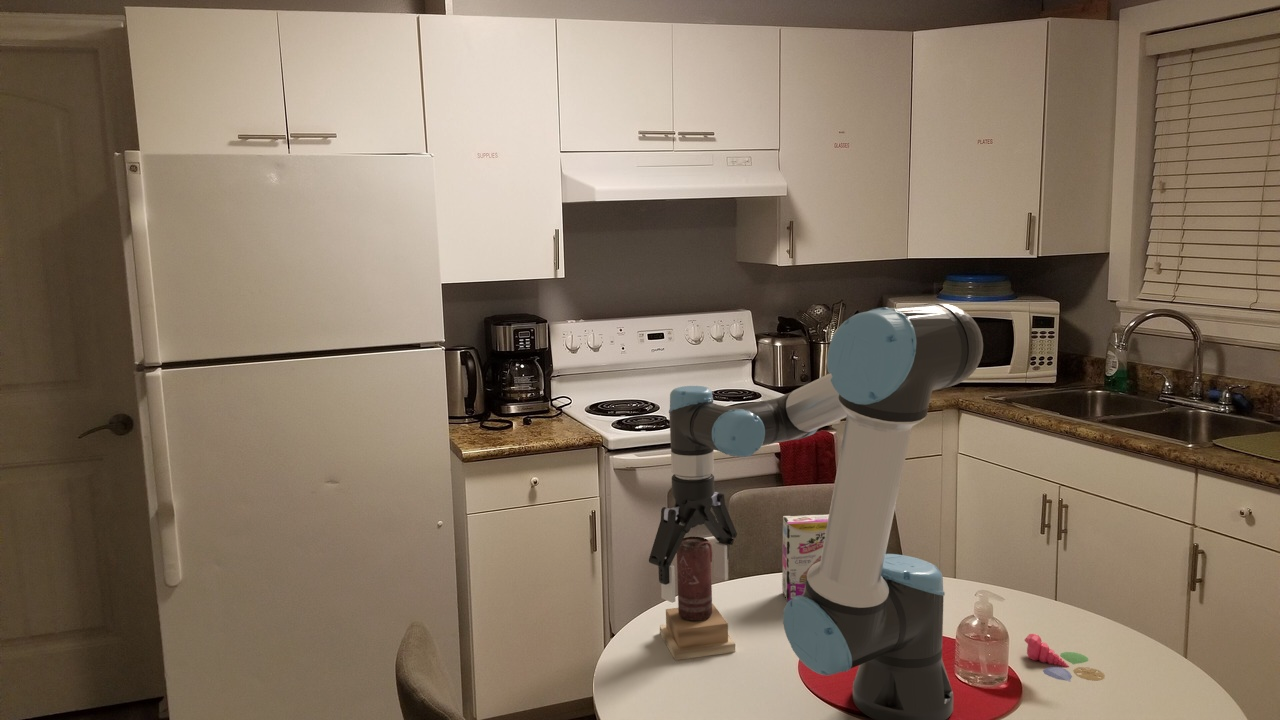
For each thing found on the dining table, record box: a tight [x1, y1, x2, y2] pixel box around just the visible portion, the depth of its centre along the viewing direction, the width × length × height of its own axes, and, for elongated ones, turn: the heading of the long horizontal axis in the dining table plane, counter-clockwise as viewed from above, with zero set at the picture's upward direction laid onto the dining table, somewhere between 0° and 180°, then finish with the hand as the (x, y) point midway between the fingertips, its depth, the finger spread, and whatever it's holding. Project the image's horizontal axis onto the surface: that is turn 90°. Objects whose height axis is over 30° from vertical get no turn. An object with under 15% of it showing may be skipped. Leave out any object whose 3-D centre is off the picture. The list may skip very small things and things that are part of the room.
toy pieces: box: [1024, 633, 1106, 683], centre depth 153 cm, size 12×11×4 cm
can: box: [676, 536, 713, 622], centre depth 165 cm, size 6×6×14 cm
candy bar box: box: [781, 513, 829, 602], centre depth 184 cm, size 11×5×16 cm, turn 94°
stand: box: [659, 602, 736, 661], centre depth 166 cm, size 11×11×5 cm
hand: (695, 588), depth 165 cm, fingers open, 13 cm apart
